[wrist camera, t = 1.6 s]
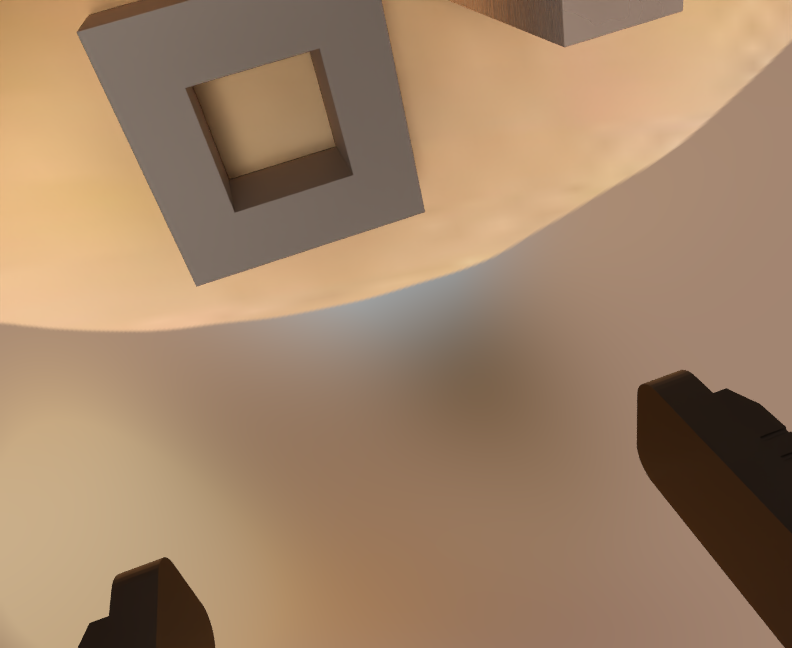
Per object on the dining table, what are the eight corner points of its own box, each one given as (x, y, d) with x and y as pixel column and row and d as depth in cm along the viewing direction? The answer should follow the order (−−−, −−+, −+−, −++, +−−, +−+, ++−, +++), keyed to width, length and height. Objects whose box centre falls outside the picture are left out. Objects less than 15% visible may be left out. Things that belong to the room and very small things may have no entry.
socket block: (89, 15, 26) (76, 31, 23) (348, -58, 28) (370, -51, 24) (194, 247, 33) (196, 286, 30) (401, 181, 34) (425, 211, 31)
